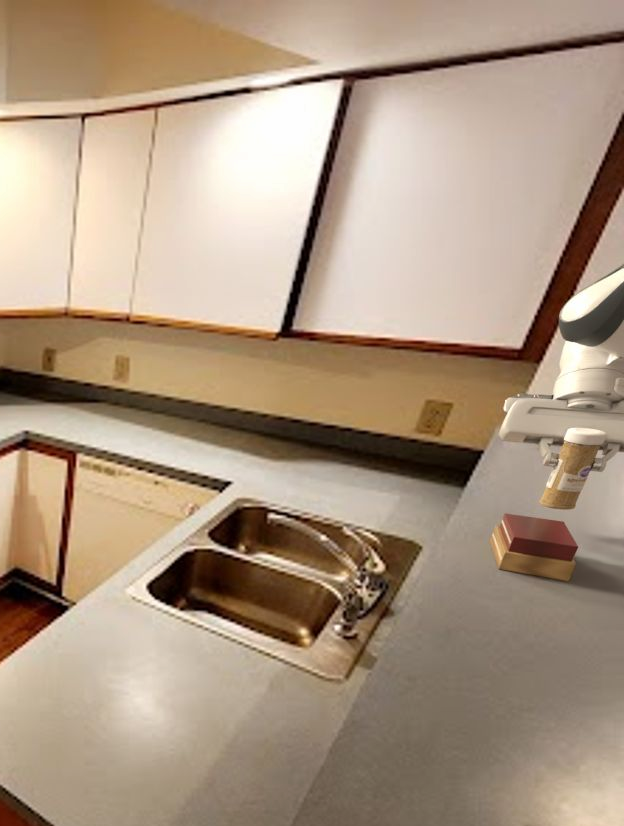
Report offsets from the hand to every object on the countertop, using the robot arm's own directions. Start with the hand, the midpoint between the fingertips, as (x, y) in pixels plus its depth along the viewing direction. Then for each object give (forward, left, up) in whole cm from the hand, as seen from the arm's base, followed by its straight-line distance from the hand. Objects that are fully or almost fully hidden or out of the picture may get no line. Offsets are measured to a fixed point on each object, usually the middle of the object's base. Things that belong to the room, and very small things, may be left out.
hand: (573, 467), depth 104 cm
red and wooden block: (+4, +15, -12) cm, 20 cm away
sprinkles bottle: (0, -1, -7) cm, 7 cm away
